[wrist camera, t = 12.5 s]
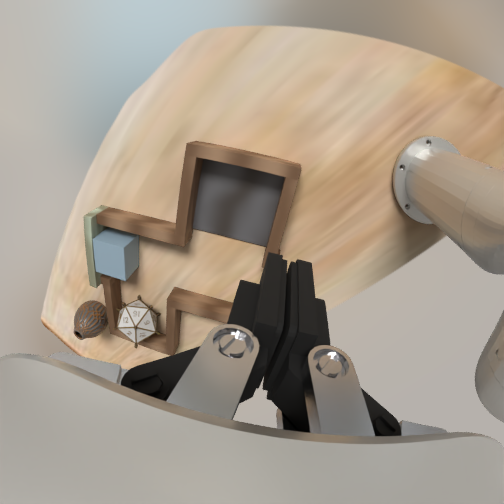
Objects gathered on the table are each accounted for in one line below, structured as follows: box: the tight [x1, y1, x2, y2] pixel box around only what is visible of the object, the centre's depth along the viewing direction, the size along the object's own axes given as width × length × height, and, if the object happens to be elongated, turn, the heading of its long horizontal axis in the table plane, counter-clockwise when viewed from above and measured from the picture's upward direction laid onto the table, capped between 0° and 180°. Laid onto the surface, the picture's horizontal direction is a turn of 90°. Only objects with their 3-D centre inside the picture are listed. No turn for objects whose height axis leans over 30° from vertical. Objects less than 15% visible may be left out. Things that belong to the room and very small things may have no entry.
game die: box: [113, 295, 161, 348], centre depth 45 cm, size 9×8×10 cm
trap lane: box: [84, 141, 301, 356], centre depth 41 cm, size 30×38×5 cm
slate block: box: [93, 227, 139, 281], centre depth 41 cm, size 6×6×5 cm
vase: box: [74, 301, 108, 340], centre depth 48 cm, size 7×7×9 cm
